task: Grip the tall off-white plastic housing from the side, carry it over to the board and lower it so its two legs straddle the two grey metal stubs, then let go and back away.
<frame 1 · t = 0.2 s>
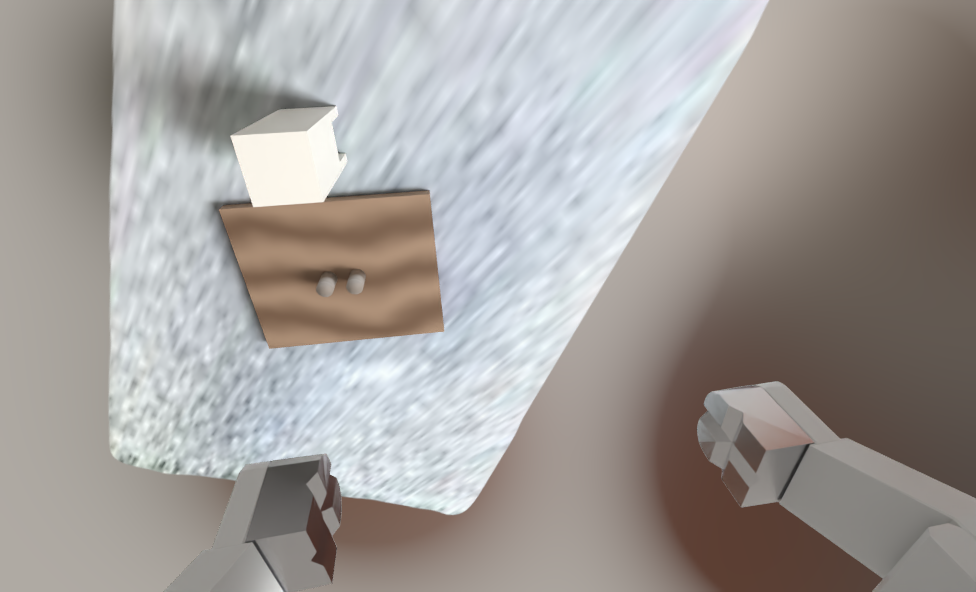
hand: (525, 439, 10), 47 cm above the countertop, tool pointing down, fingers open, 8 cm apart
housing: (314, 136, 50), on the countertop
stub board: (345, 271, 58), on the countertop
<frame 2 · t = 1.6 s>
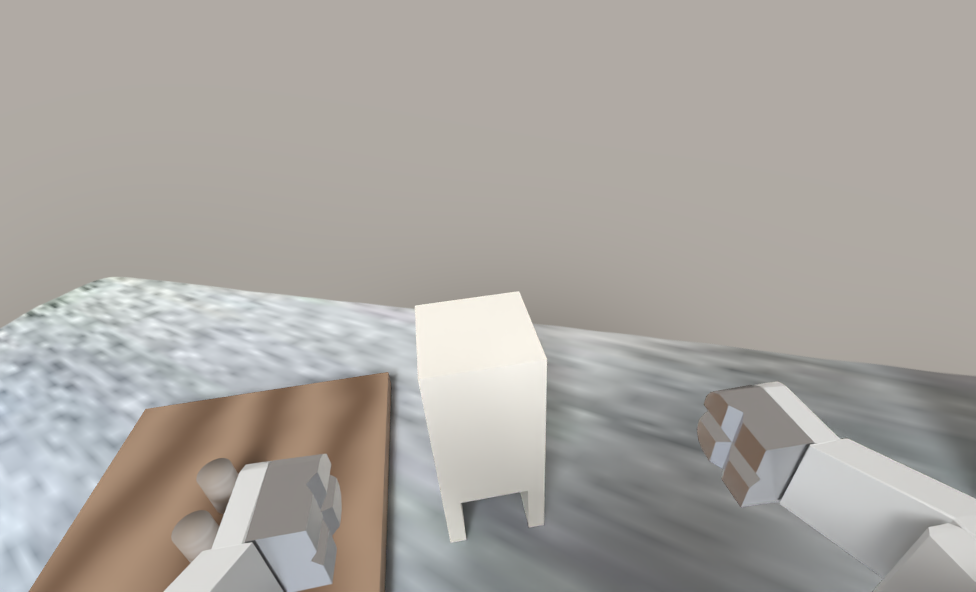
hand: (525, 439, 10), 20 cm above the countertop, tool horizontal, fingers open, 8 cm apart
housing: (490, 491, 31), on the countertop
stub board: (232, 538, 29), on the countertop
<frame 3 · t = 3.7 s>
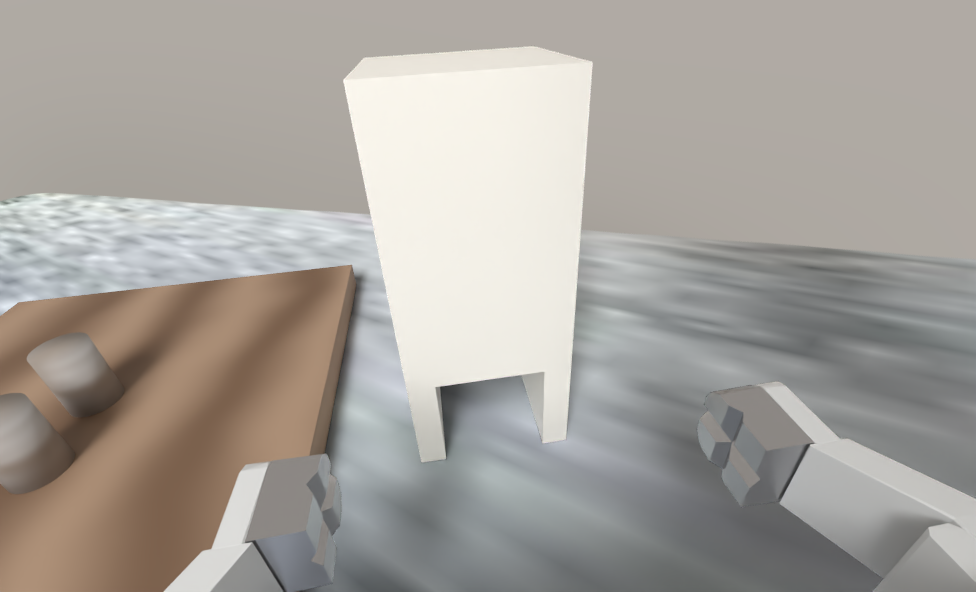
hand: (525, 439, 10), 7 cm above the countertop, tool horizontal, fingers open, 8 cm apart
housing: (484, 398, 21), on the countertop
stub board: (91, 455, 19), on the countertop
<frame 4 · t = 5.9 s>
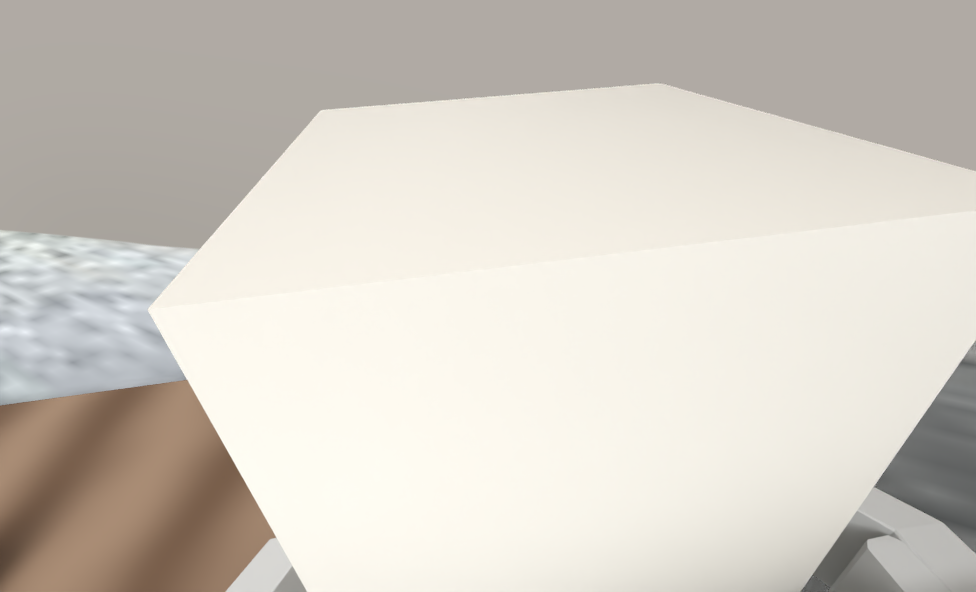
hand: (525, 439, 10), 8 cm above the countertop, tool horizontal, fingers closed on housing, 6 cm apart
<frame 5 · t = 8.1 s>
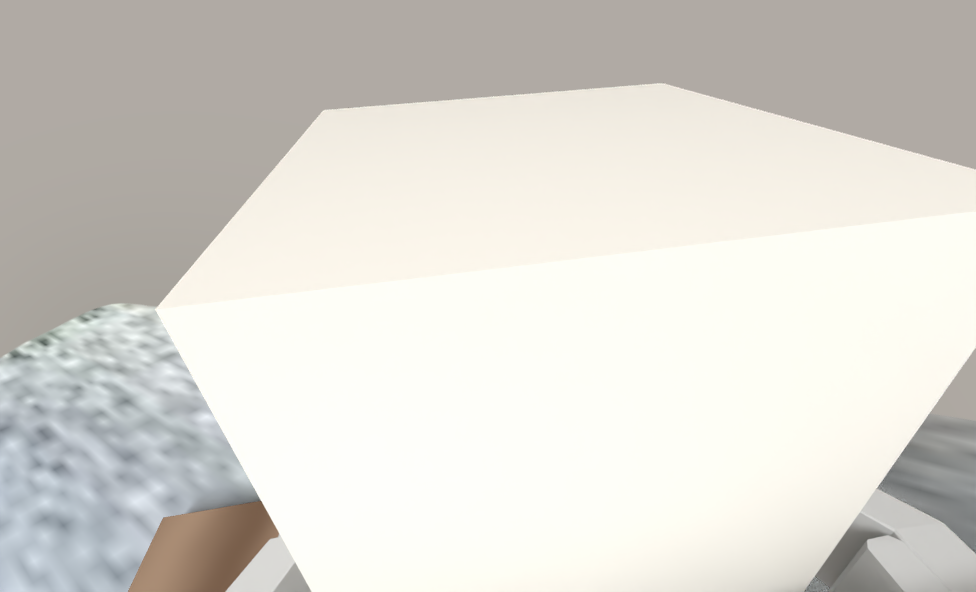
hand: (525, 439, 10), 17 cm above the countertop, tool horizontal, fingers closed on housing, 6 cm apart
when the fingers open (10 cm above the countertop, at t = 10.8 s): housing drops 1 cm, resting on stub board.
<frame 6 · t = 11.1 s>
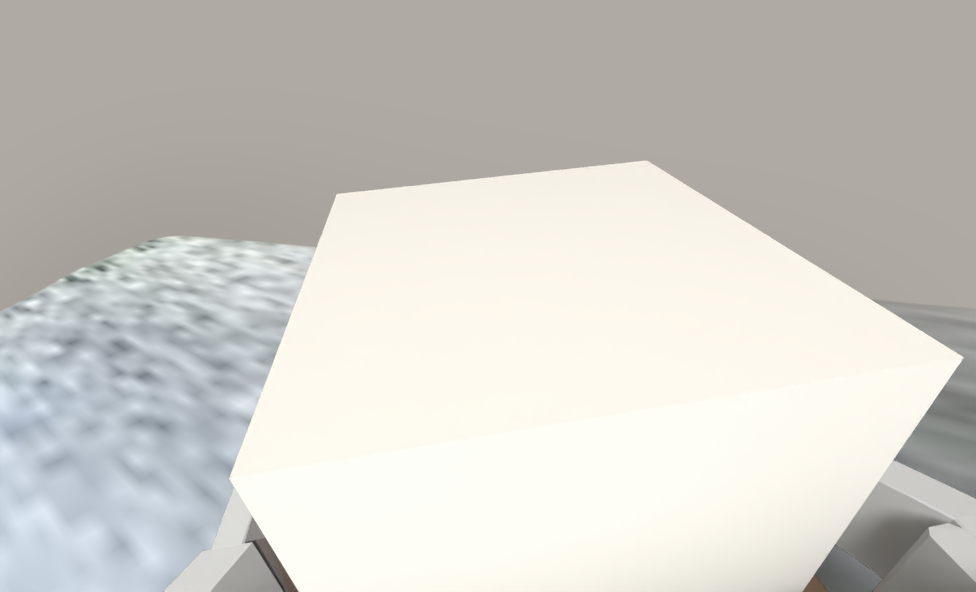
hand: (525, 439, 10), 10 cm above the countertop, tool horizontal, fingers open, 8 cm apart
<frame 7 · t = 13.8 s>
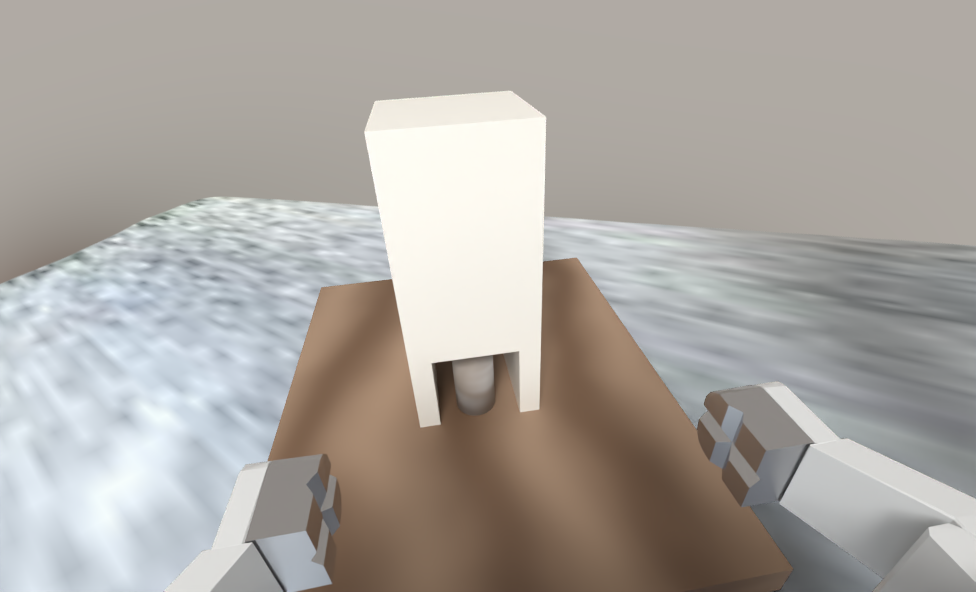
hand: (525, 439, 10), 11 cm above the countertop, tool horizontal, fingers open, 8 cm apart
housing: (473, 377, 25), point 1 cm above the countertop, touching stub board
stub board: (473, 396, 26), on the countertop
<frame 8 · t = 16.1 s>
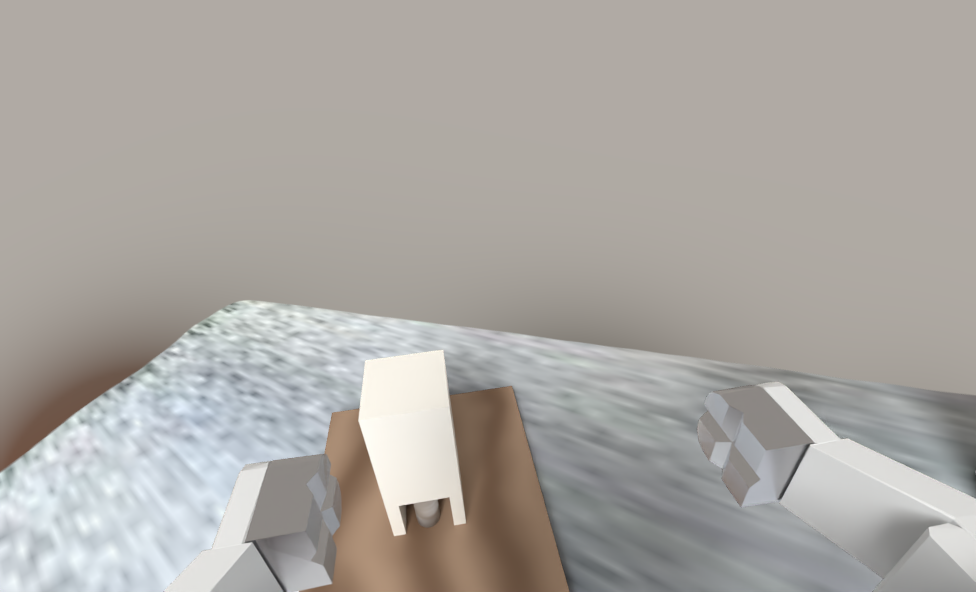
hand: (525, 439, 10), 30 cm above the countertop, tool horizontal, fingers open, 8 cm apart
housing: (428, 497, 40), point 1 cm above the countertop, touching stub board
stub board: (430, 506, 40), on the countertop
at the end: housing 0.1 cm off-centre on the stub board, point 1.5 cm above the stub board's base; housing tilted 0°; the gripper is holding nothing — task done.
